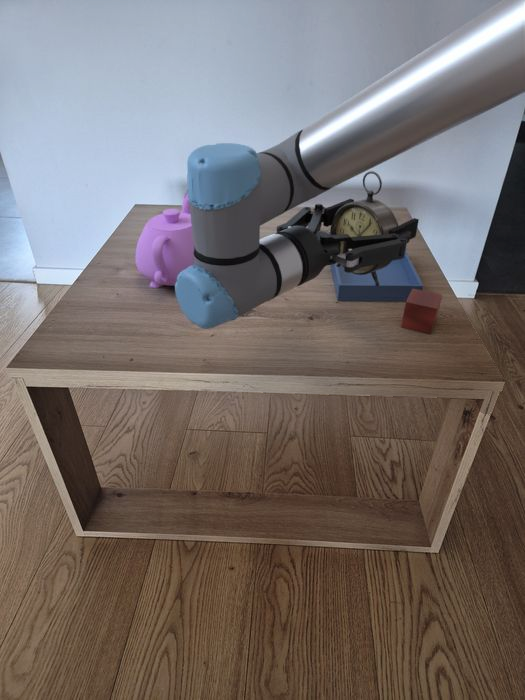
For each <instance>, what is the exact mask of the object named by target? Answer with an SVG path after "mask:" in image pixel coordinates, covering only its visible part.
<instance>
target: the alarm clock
mask: <svg viewBox="0 0 525 700" xmlns="http://www.w3.org/2000/svg"><path fill="white" fill-rule="evenodd" d="M370 174H372V175H374V176H376V178H377V179H378V182H379V187H378V189H377V191H376V192H375V191H374V190H372V189H371V190H369V189H367V187H366V183H365V181H366V178H367V176H368V175H370ZM382 185H383V182H382V179H381V176H380V175H379V174H378V173H377V171H374V170H368V171H366V173H365V174H364V175H363V177H362V186H363V188H364V191H365V192H366V195H367V196H366V198H363V199H360V200H356V201H355V200H354V202H349V203H346V204H344V205H343V206H342V207H340V208H339V209H338V211H337V212H336V214H335V215H334V217H333V220H332V223H331V225H330V228H329V229H330V231H329V234H331V235H340V234H348V235H349V236H350V237H357V236H370V235H382V234H389V230H391V229H393V228H395V227H397V226H399V222H398V221H397V218H396V216H395V214H394V212H393V211H392V210H391V209H390V207H388V205H387V204H385V203H384V202H382V201H380V200H378V199H375V198H374V197H373V196H374V195H378V194H379V193H380V191H381V190H382ZM343 244H344V241H342V242H341V249H340V253H342V252H343ZM391 262H392V261H389V262H385V263H380V264H376V265H371V266H367V267H362V268H359V269H357V270H355V271H354V272H351V273H353V274H357V275H365V274H369V273H371V274H372V277H373V279H374V281H375V285H376V286H379V282H378V278H377V274H376V270H379V269H382V268H384V267H386V266H387V265H389V264H390V263H391ZM340 265H342V264H340V263H337V265H336V266H337V267H340ZM342 266H343V267H344V268H345V265H342Z"/></svg>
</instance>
